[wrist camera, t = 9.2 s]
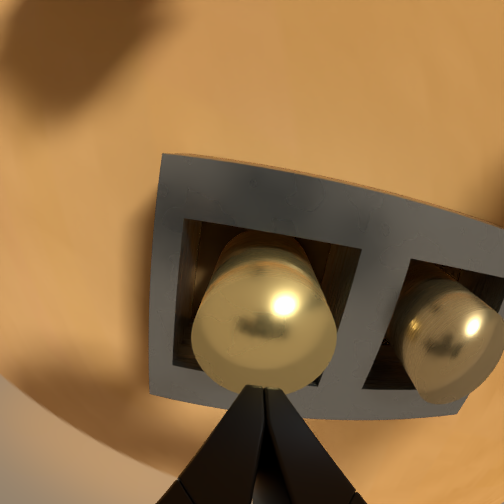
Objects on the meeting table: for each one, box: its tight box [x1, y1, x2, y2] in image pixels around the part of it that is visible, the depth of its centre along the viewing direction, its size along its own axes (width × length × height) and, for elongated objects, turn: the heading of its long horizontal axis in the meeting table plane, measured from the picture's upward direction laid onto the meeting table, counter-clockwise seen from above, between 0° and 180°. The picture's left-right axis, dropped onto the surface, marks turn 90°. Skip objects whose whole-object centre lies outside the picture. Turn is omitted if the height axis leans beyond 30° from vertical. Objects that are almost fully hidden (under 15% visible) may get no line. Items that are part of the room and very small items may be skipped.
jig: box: [149, 153, 504, 420], centre depth 13 cm, size 16×10×4 cm, turn 80°
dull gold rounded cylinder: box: [385, 259, 504, 404], centre depth 12 cm, size 4×4×6 cm
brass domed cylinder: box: [191, 229, 337, 395], centre depth 12 cm, size 4×4×6 cm
